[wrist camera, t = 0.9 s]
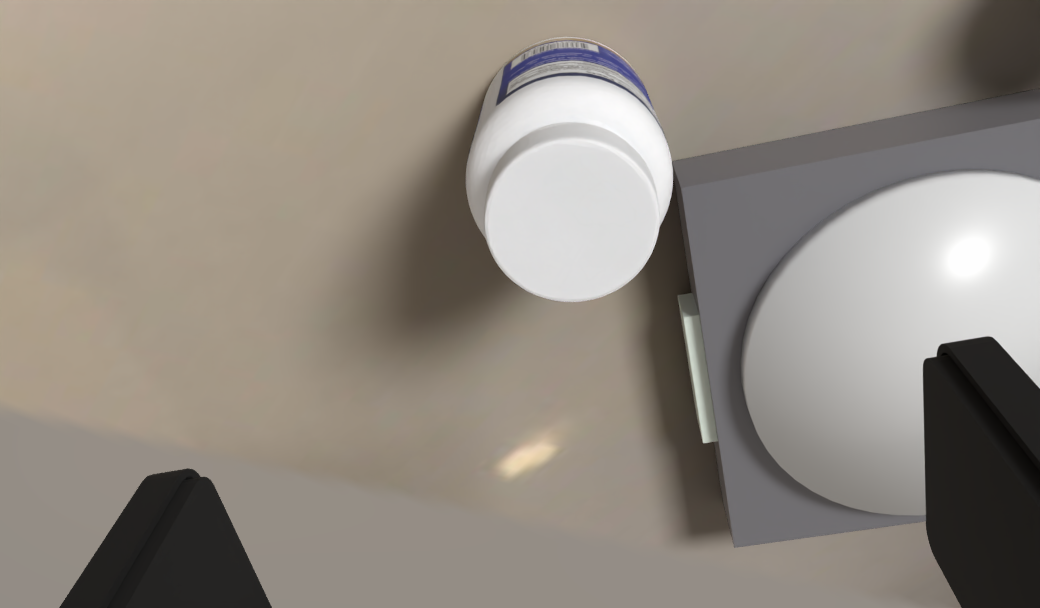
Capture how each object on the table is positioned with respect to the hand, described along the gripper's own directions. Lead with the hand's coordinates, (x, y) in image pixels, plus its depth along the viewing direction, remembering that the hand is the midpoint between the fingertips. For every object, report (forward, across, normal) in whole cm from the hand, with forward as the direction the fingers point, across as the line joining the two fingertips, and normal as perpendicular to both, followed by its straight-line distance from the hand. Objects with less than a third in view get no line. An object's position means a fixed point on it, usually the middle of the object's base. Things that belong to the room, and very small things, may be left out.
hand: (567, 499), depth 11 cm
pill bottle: (+18, 0, 0) cm, 18 cm away
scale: (+18, -10, +9) cm, 23 cm away
